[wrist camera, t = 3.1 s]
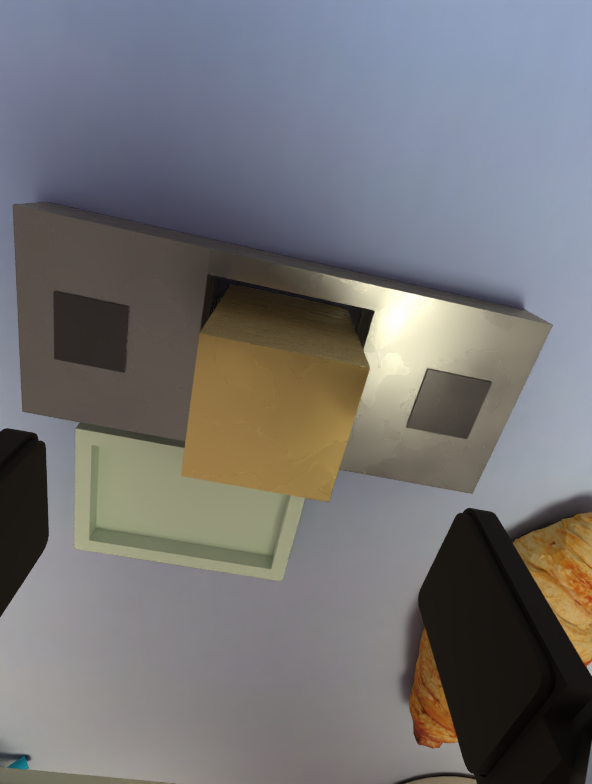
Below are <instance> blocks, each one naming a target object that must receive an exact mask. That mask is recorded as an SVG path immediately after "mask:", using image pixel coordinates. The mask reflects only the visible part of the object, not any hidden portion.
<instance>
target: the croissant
mask: <svg viewBox="0 0 592 784" xmlns="http://www.w3.org/2000/svg"><path fill="white" fill-rule="evenodd" d="M513 544H514V546H515V548H516V549H517V551H518V553H519V555H520V556H521V558H522V560H523V561H524V563H525V565H526V566H527V568H528V570H529V571H530V573H531V575H532V576H533V578H534V580H535V582H536V583H537V585H538V587H539V588H540V590H541V592H542V593H543V595H544V597H545V598H546V600H547V602H548V603H549V605H550V607H551V609H552V610H553V612H554V614H555V615H556V617H557V619H558V620H559V622H560V624H561V625H562V627H563V629H564V630H565V632H566V634H567V636H568V637H569V639H570V641H571V642H572V644H573V646H574V647H575V649H576V651H577V652H578V654H579V656H580V658H581V659H582V661H583V663H584V664H585V666H586V667H587V665H589V664H590V663H591V662H592V512H591V513H582V514H577V515H575V516H574V517H572V518H566V519H562V520H561V521H559V522H557V523H555V524H552V525H550V526H548V527H546V528H542V529H539V530H535V531H532V532H530V533H528V534H526V535H524V536H522V537H520V539H515V541H514V542H513ZM410 713H411V716H412V719H413V724H414V726H413V727H414V736H415V739H416V741H417V743H418V745H425V746H427V747H430V748H439V747H440V746H441V744H442V743H454V742H458V739H457V736H456V732H455V729H454V725H453V722H452V718H451V715H450V712H449V708H448V705H447V701H446V698H445V694H444V691H443V688H442V684H441V681H440V677H439V674H438V670H437V667H436V663H435V660H434V657H433V653H432V650H431V646H430V643H429V639H428V636H427V633H426V629H425V626H424V630H423V633H422V637H421V641H420V647H419V657H418V660H417V662H416V670H415V676H414V684H413V686H412V690H411V694H410Z"/></svg>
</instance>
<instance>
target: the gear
mask: <svg viewBox="0 0 592 784" xmlns="http://www.w3.org/2000/svg"><path fill="white" fill-rule="evenodd" d="M7 768H14V769H25V770H27V769H28V768H29V767H28V764H27V761H26V758H25V756H23V757H21V758H20V759H19V760H17V761H16V762H14V763H13V764H11V765H10V766H9V767H7Z"/></svg>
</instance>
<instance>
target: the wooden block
mask: <svg viewBox="0 0 592 784" xmlns="http://www.w3.org/2000/svg"><path fill="white" fill-rule="evenodd" d="M369 371H370V366H369V363H368V361H367V358H366V356H365V353H364V351H363V348H362V346H361V343H360V341H359V338H358V336H357V333H356V331H355V328H354V326H353V323H352V321H351V318H350V316H349V313H348V311H347V308H342V307H337V306H333V305H328V304H324V303H319V302H314V301H310V300H305V299H300V298H296V297H291V296H287V295H282V294H277V293H273V292H268V291H263V290H259V289H254V288H250V287H245V286H240V285H236V284H231V285H230V286H229V288H228V290H227V291H226V293H225V294H224V296H223V297H222V299H221V300H220V302H219V304H218V305H217V307H216V308H215V310H214V311H213V313H212V315H211V316H210V318H209V319H208V321H207V322H206V324H205V325H204V327H203V329H202V330H201V332H200V334H199V342H198V349H197V357H196V365H195V372H194V380H193V387H192V395H191V403H190V410H189V418H188V426H187V433H186V441H185V449H184V456H183V464H182V471H181V476H183V477H189V478H195V479H200V480H206V481H212V482H217V483H223V484H229V485H234V486H240V487H246V488H252V489H257V490H263V491H269V492H274V493H280V494H286V495H291V496H297V497H303V498H308V499H314V500H320V501H326V502H329V500H330V496H331V493H332V490H333V487H334V483H335V480H336V477H337V474H338V471H339V467H340V464H341V461H342V458H343V454H344V451H345V448H346V445H347V442H348V438H349V435H350V432H351V429H352V425H353V422H354V419H355V416H356V413H357V409H358V406H359V403H360V400H361V396H362V393H363V390H364V387H365V384H366V380H367V377H368V374H369Z"/></svg>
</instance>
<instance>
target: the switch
mask: <svg viewBox="0 0 592 784" xmlns="http://www.w3.org/2000/svg"><path fill="white" fill-rule="evenodd" d="M13 219H14V241H15V262H16V284H17V305H18V327H19V348H20V370H21V391H22V412H27V413H33V414H38V415H44V416H49V417H55V418H60V419H66V420H71V421H77V422H82V423H88V424H93V425H99V426H104V427H110V428H115V429H120V430H126V431H131V432H137V433H142V434H148V435H153V436H159V437H164V438H170V439H175V440H181V441H186V433H187V426H188V418H189V410H190V403H191V395H192V387H193V380H194V372H195V365H196V357H197V349H198V342H199V334H200V332H201V330H202V329H203V327H204V325H205V324H206V322H207V321H208V319H209V318H210V313H211V306H212V299H213V291H214V284H215V277H216V276H218V277H223V278H228V279H232V280H237V281H241V282H246V283H251V284H255V285H260V286H264V287H269V288H273V289H278V290H283V291H287V292H292V293H296V294H301V295H306V296H310V297H315V298H319V299H324V300H329V301H333V302H338V303H342V304H347V305H351V306H356V307H361V308H363V311H362V314H361V318H360V321H359V325H358V328H357V332H356V333H357V336H358V338H359V341H360V343H361V346H362V348H363V351H364V353H365V356H366V358H367V361H368V363H369V366H370V371H369V374H368V377H367V380H366V384H365V387H364V390H363V393H362V396H361V400H360V403H359V406H358V409H357V413H356V416H355V419H354V422H353V425H352V429H351V432H350V435H349V438H348V442H347V445H346V448H345V451H344V454H343V458H342V461H341V464H340V467H339V470H345V471H350V472H356V473H361V474H367V475H372V476H378V477H383V478H389V479H394V480H400V481H405V482H411V483H416V484H421V485H427V486H432V487H438V488H443V489H449V490H454V491H460V492H465V493H471V494H472V493H473V491H474V489H475V487H476V485H477V483H478V481H479V479H480V477H481V475H482V473H483V470H484V468H485V466H486V464H487V462H488V460H489V458H490V456H491V454H492V452H493V449H494V447H495V445H496V443H497V441H498V439H499V437H500V435H501V433H502V431H503V429H504V426H505V424H506V422H507V420H508V418H509V416H510V414H511V412H512V410H513V408H514V405H515V403H516V401H517V399H518V397H519V395H520V393H521V391H522V389H523V387H524V385H525V382H526V380H527V378H528V376H529V374H530V372H531V370H532V368H533V366H534V364H535V361H536V359H537V357H538V355H539V353H540V351H541V349H542V347H543V345H544V343H545V341H546V338H547V336H548V334H549V332H550V330H551V328H552V326H553V325H552V324H550V323H548V322H546V321H544V320H543V319H541V318H539V317H537V316H535V315H534V314H532V313H530V312H528V311H526V310H524V309H519V308H515V307H510V306H506V305H502V304H497V303H493V302H488V301H484V300H479V299H475V298H471V297H466V296H462V295H457V294H453V293H448V292H444V291H439V290H435V289H431V288H426V287H422V286H417V285H413V284H408V283H404V282H400V281H395V280H391V279H386V278H382V277H377V276H373V275H368V274H364V273H360V272H355V271H351V270H346V269H342V268H337V267H333V266H329V265H324V264H320V263H315V262H311V261H306V260H302V259H297V258H293V257H289V256H284V255H280V254H275V253H271V252H266V251H262V250H258V249H253V248H249V247H244V246H240V245H235V244H231V243H226V242H222V241H218V240H213V239H209V238H204V237H200V236H195V235H191V234H187V233H182V232H178V231H173V230H169V229H164V228H160V227H156V226H151V225H147V224H142V223H138V222H133V221H129V220H124V219H120V218H116V217H111V216H107V215H102V214H98V213H93V212H89V211H85V210H80V209H76V208H71V207H67V206H62V205H58V204H53V203H49V202H39V203H26V204H13Z"/></svg>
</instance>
